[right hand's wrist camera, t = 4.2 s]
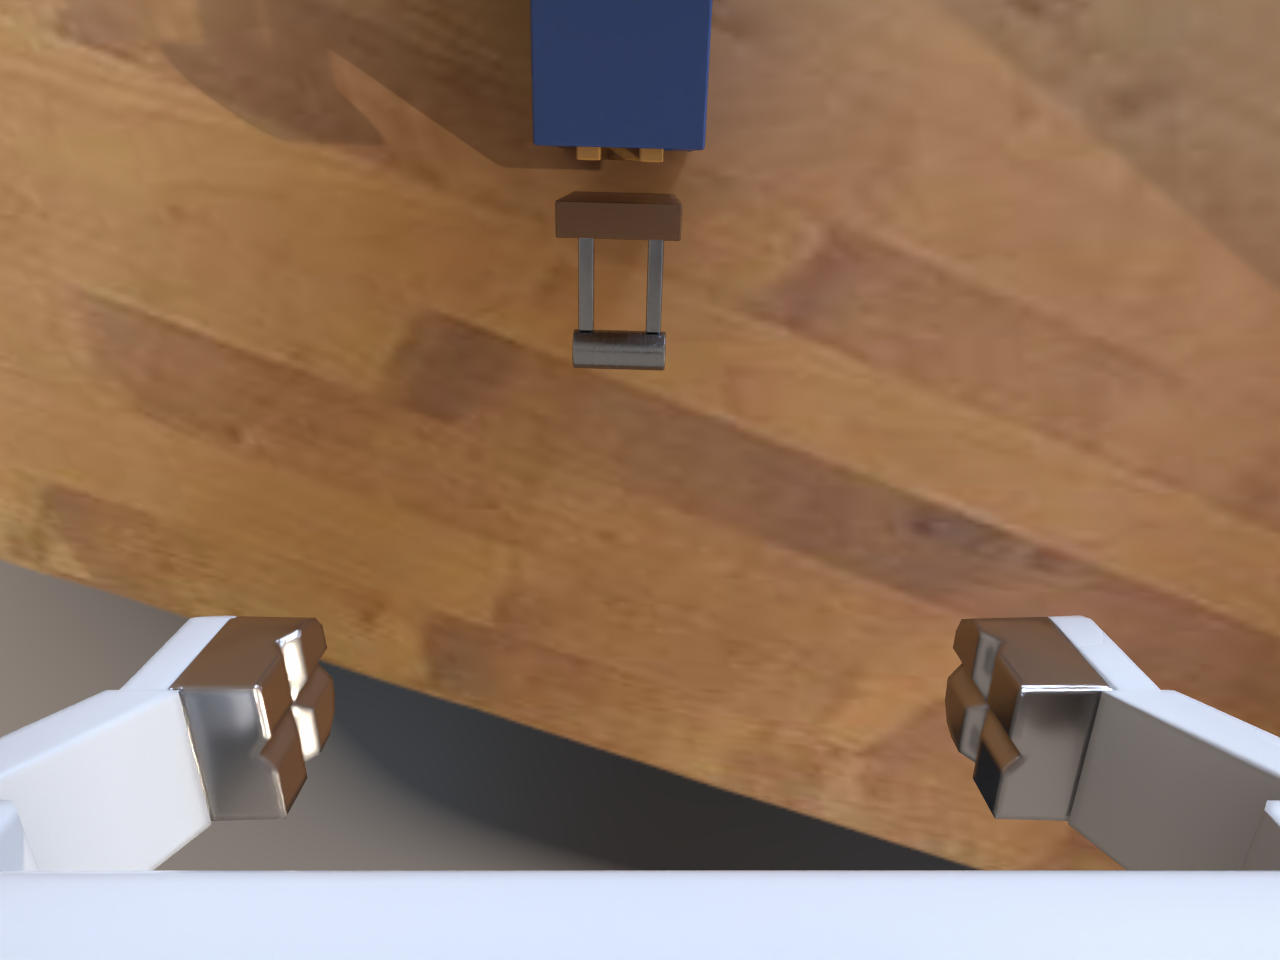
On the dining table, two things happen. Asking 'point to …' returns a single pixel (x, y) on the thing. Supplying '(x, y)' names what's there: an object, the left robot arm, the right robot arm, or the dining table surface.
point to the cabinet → (620, 73)
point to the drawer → (619, 220)
